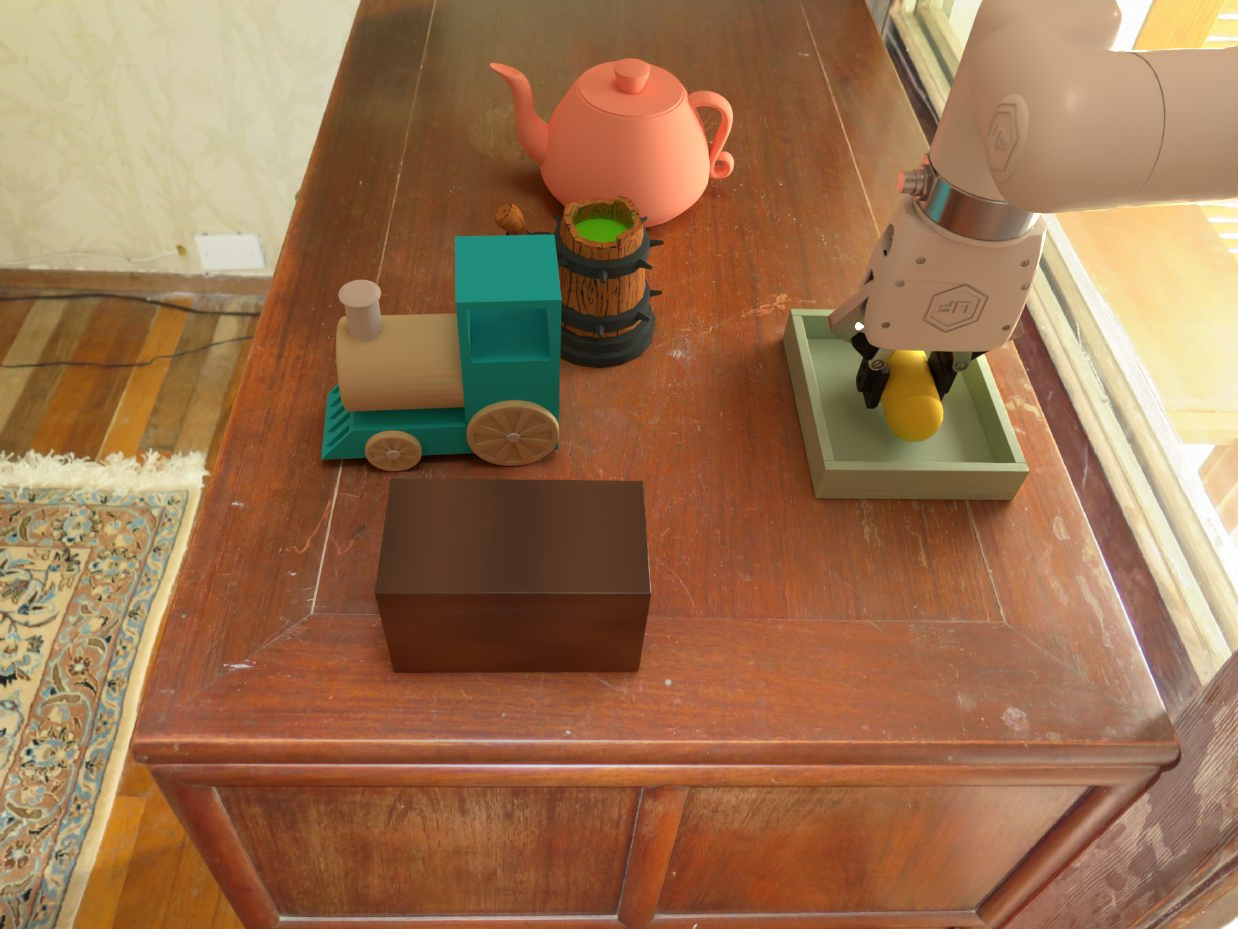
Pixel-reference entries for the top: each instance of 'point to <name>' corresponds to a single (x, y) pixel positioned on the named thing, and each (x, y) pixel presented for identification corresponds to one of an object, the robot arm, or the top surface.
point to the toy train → (454, 364)
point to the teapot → (624, 138)
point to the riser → (514, 575)
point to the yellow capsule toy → (911, 397)
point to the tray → (869, 451)
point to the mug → (599, 279)
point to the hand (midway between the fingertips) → (898, 394)
